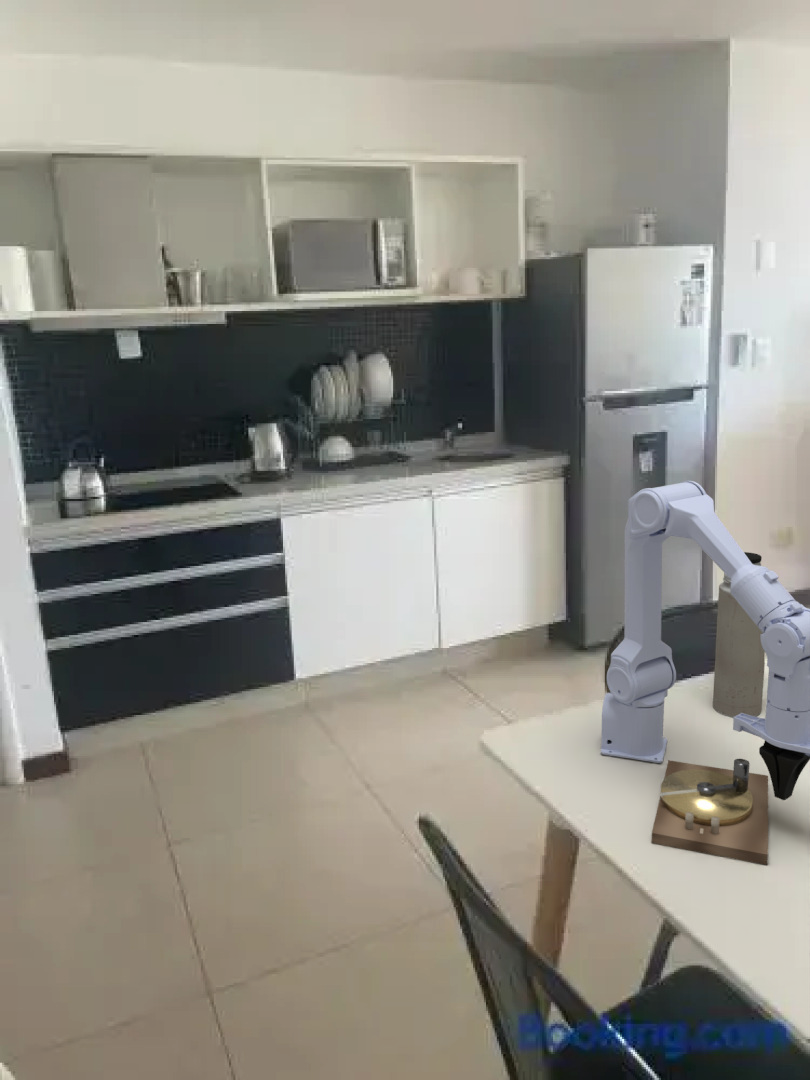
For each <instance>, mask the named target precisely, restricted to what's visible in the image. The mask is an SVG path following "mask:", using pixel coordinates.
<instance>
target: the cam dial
mask: <svg viewBox="0 0 810 1080" xmlns="http://www.w3.org/2000/svg"><path fill="white" fill-rule="evenodd" d="M750 766H751V764H750V761H749V760H747V759H745V758H735V759H734V760H733V769H732V770H733V778H732V777H730V776H727V775H724V774H721V773H717V772H713V771H707V770H683V771H678V772H675V773H672V774H670V775H669V776H667V777H666V778H665V777H664V778H665V779H664V778H663V780H662V781H661V783H660V793H659V797H660V796H661V800H662V803H663V804H664V806H665V807H666V808H667V809H668V810H670V811H671V812H672V813H674V814H675V815H677V816H679V817H681V818H683V819H685V818H686V813H687V812H691V813H693V814H694V819H693V822H695V823H699V824H704V825H711V818H712V817H718V818H719V819H720V821H719V826H725V825H732V824H736V823H739V822H742V821H743V820H745V819H746V818H748V817H749V815H750V814H751V812H752V803H753V797H752V794H751V792H750V790H749V789H748V780H749V773H750Z"/></svg>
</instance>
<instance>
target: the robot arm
mask: <svg viewBox="0 0 810 1080" xmlns="http://www.w3.org/2000/svg"><path fill="white" fill-rule="evenodd" d="M627 503H628V504H627V505H628V506H627V513H628V514H627V521H626V523H625V527H624V638H623V640H622V641H621V642H620V643H619V644H618V646H617V647H616V648H615V649H614V650H613V651H612V652H611V654H610V664H609V667H608V670H607V673H606V684H607V688H608V689H609V692H605V695H604V697H603V698H604V699H603V702H602V710H601V738H600V741H601V744H600V745H601V746H600V748H601V749H600V754H601V755H604V756H609V757H610V756H611V757H618V758H623V759H631V760H637V761H642V762H643V761H644V762H649V763H655V764H656V763H657V764H662V763H663V760H664V757H665V753H666V749H667V748H666V747H667V745H668V738H667V737H664V720H665V719H664V718H665V717H664V715H665V698H666V697H668V694H669V693H668V692H669V691H668V690H670V689H671V688H673V687H674V685H675V684H676V681H677V671H676V668H675V664H674V662H673V661H674V660H673V655H672V653H673V651H672V648H671V646H669V645H668V644H666V643H665V642H664V641H662V596H663V595H662V592H663V591H662V589H663V588H662V587H663V585H662V582H663V580H662V579H663V575H662V574H663V572H662V571H663V569H662V568H663V543H664V542H665V541H666V540H667V539H668V538H670V537H676V538H677V537H678V538H683V539H690V540H692V541H694V542H695V543H696V545H697V546H698V547H700V549H701V550H702V551H703V552H704V553H705V554H706V555H707V556H708V557H709V558H710V559H711V560H712V561H713V562H714V563H715V565H716V566H717V567H718V569H720V570H721V571H722V572H723V573H725V574H726V575H727V576H728V577H729V578H730V579H731V587H730V593H731V594H732V596H733V597H734V598H735V599H736V600H737V602H738V603H739V604H740V605H741V607H742V608H743V609H744V610H745V612H746V613H747V614H748V615H749V617H750V618H751V619H752V620H753V621H754V623H755V624H756V625H757V626H758V628H759V629H760V630H761V631H762V632H763V634H761V635H760V638H761V644H762V647H763V649H764V651H765V656H766V659H767V660H766V661H767V662H766V667H767V668H768V676H767V691H766V703H765V704H766V705H765V716H764V717H765V718H764V717H759V716H756V717H755V716H750V715H747V714H744V713H741V714H739V715H737V716H735V717H733V723H732V730H733V731H736V732H739V733H741V732H745V733H748V734H750V735H752V736H756V737H757V738H761V739H762V740H764V742H763V745H761V746H760V747H759V749H758V750H759V752H758V754H759V755H760V757H761V758H762V760H763V761H764V764H765V765H766V768H767V771H768V773H769V776H770V777H769V778H770V780H771V785H772V788H773V794H774V797H775V798H777V799H780V800H782V801H786V800H788V799H789V798H791V797H792V796H793V793H794V792H793V791H794V789H795V786H796V784H797V782H798V779H799V777H800V775H801V773H802V772H803V770H804V769H805V767H806V766H807V764H808V763H809V761H810V608H808V607H805V606H804V604H802V603H800V602H799V601H797V600H796V599H795V598H794V596H792V595H791V593H789V590H787V588H785V587H784V585H783V584H782V583H781V582H780V581H779V575H778V574H777V573H776V572H775V570H770V568H768V566H762V565H761V566H758V565H753V564H752V563H751V561H750V560H749V559H748V557H747V556H746V555H745V553H744V552H745V551H744V550H743V549H742V548H741V547H740V545H739V544H738V543H737V541H736V539H734V537H733V536H732V534H731V533H730V532H729V530H728V529H727V527H726V526H725V524H724V523H723V522H722V521H721V519H720V518H719V516H718V515H717V514H716V512H715V503H714V499H713V498H712V497H711V496H710V495H708V494H707V492H706V490H705V489H704V488H703V487H702V485H701V484H700V483H698V482H696V481H694V480H693V481H692V480H685V481H682V482H680V483H674V484H667V485H663V486H662V485H661V486H657V487H652V488H651V487H648V488H647V487H646V488H642V489H641V490H639V491H638V492H636V493H634V495H633V496H632V497H630V498H629V499H628V500H627Z"/></svg>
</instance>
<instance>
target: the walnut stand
mask: <svg viewBox="0 0 810 1080" xmlns="http://www.w3.org/2000/svg"><path fill="white" fill-rule="evenodd" d="M666 764H667V765H666V769H665V774H664V778H663V780H664V779H665V778H666V777H667V776H669V775H670V774H672V773H675V772H678V771H683V770H707V771H713V772H717V773H721V774H724V775H727V776H730V777H732V778H733V770H734V769H727V768H721V767H715V766H708V765H701V764H695V763H688V762H681V761H675V760H667V763H666ZM748 789H749V790H750V792H751V794H752V797H753V803H752V812H751V814H750V815H749V817H748V818H746V819H745V820H743V821H742V822H739V823H736V824H732V825H725V826H719V821H720V819H719V818H718V817H712V818H711V825H704V824H699V823H695V822H693V819H694V814H693V813H691V812H687V813H686V818H685V819H683V818H681V817H679V816H677V815H675V814H674V813H672V812H671V811H670V810H668V809H667V808H666V807H665V806H664V804H663V803H662V800H661V796H660V795H659V800H658V805H657V810H656V814H655V818H654V822H653V828H652V831H651V844H656V845H661V846H666V847H671V848H675V849H676V848H677V849H681V850H686V851H693V852H697V853H703V854H707V855H713V856H718V857H723V858H729V859H734V860H738V861H744V862H749V863H753V864H760V865H764V866H768V859H769V856H768V855H769V775H767V774H766V775H765V774H760V773H754V772H753V773H752V772H749V780H748Z"/></svg>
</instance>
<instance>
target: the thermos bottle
mask: <svg viewBox="0 0 810 1080" xmlns="http://www.w3.org/2000/svg"><path fill="white" fill-rule="evenodd" d="M743 552H744V553H745V555H746V556H747V557H748V559H749V560H750V561H751V563H752V564H753V565H758V566H762V563H761V562H762V555H760V554H759V553H754V552H746V551H743ZM723 573H724V572H723ZM722 581H723V582H721V583H720V584H719V585H718V597H717V598H718V599H717V617H716V619H717V620H716V639H715V659H714V661H715V663H714V672H713V673H714V676H713V691H712V692H713V695H712V707H713V709H714V710H715V711H716V712H717V713H719V714H722V715H724V716H726V717H730V718H734V717H735V716H737V715H739V714H741V713H744V714H747V715H750V716H755V717H759V715H761V713H762V709H763V708H762V707H763V694H764V681H765V680H764V677H765V656H766V653H765V651H764V649H763V647H762V644H761V638H760V635H761V634H763V632H762V631H761V630H760V629H759V628H758V626H757V625H756V624H755V623H754V621H753V620H752V619H751V618H750V617H749V615H748V614H747V613H746V612H745V610H744V609H743V608H742V607H741V605H740V604H739V603H738V602H737V600H736V599H735V598H734V597H733V596H732V594H731V593H730V587H731V579H730V578H729V577H728V576H727V575H726V574H725V573H724V574H723V578H722Z"/></svg>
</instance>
